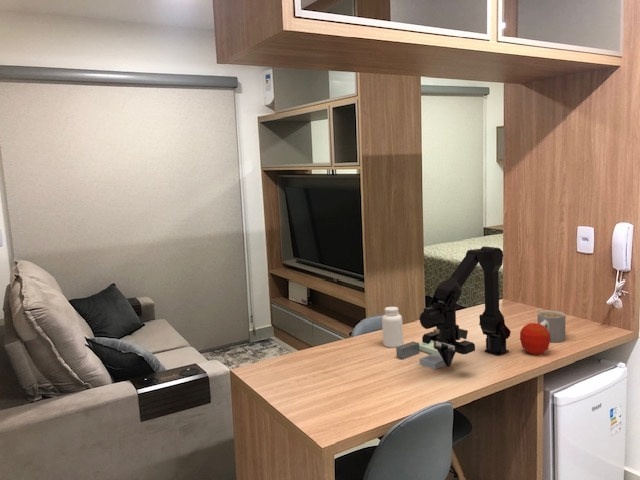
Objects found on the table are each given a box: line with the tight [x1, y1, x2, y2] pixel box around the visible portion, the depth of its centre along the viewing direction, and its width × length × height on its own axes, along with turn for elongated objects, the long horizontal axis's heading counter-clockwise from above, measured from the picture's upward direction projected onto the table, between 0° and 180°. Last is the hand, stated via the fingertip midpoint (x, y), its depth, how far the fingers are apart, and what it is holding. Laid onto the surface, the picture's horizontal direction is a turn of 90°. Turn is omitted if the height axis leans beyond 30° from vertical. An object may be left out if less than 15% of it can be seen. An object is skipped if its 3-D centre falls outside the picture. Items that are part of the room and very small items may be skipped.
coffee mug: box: [537, 310, 566, 344], centre depth 206 cm, size 13×10×10 cm
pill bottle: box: [381, 306, 404, 349], centre depth 210 cm, size 8×8×15 cm
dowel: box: [433, 328, 439, 349], centre depth 202 cm, size 3×3×7 cm
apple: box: [519, 322, 551, 356], centre depth 194 cm, size 10×10×12 cm
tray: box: [418, 340, 441, 356], centre depth 203 cm, size 12×12×2 cm
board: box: [419, 354, 446, 370], centre depth 188 cm, size 7×7×2 cm
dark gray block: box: [395, 340, 420, 360], centre depth 198 cm, size 3×9×4 cm, turn 127°
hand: (448, 366), depth 183 cm, fingers closed
